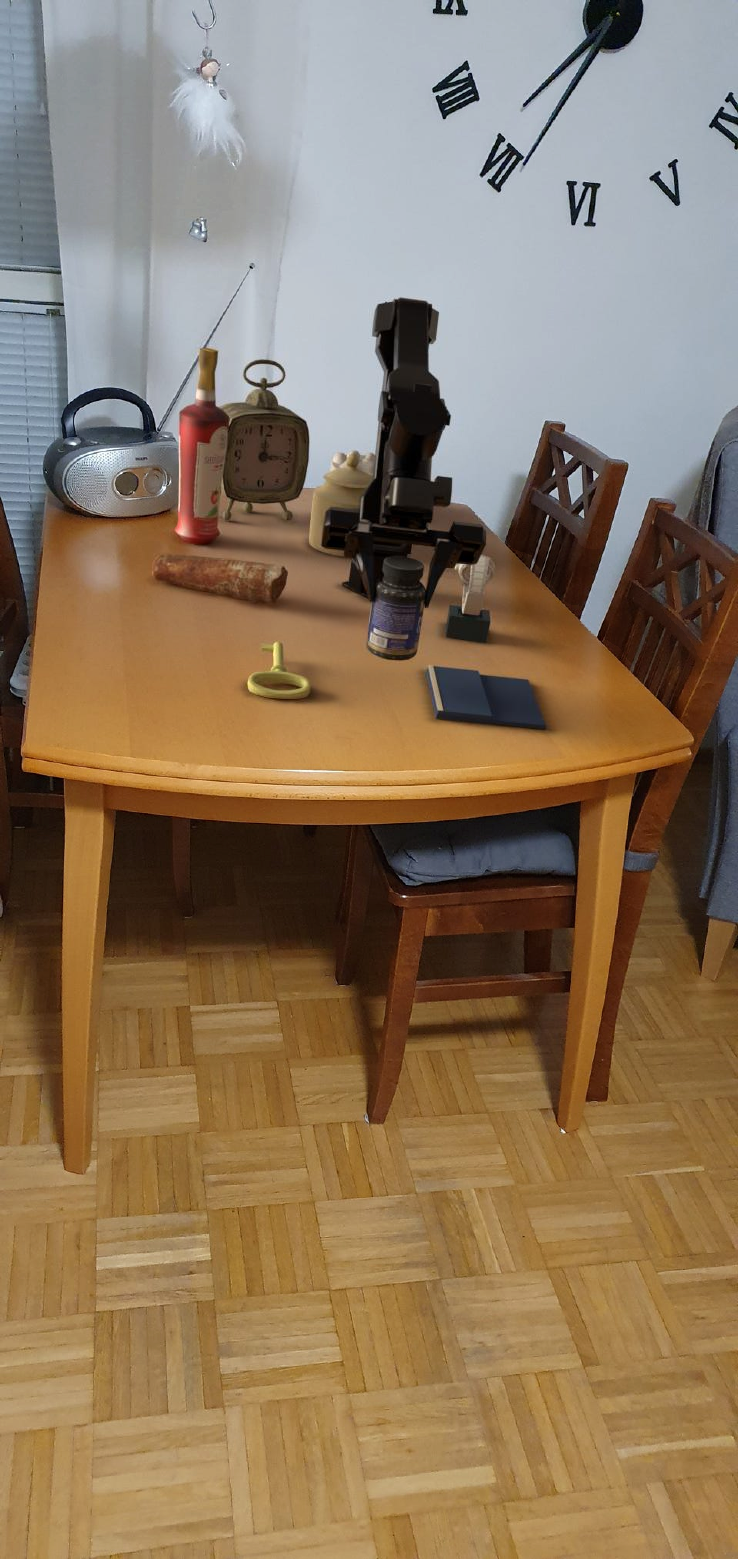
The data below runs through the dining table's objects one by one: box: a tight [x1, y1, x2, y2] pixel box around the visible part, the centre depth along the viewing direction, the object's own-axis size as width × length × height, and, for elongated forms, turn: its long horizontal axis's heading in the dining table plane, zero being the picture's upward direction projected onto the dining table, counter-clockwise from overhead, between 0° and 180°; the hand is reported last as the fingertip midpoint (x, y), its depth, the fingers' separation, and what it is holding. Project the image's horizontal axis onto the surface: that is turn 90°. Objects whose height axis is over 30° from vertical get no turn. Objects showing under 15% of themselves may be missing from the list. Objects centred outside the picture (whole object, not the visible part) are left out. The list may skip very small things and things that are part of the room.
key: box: [247, 641, 311, 700], centre depth 141 cm, size 7×12×2 cm, turn 23°
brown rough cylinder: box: [151, 553, 289, 605], centre depth 164 cm, size 6×19×6 cm, turn 75°
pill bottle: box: [365, 556, 426, 662], centre depth 138 cm, size 6×6×11 cm
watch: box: [445, 554, 496, 644], centre depth 160 cm, size 6×8×11 cm
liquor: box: [174, 347, 230, 545], centre depth 177 cm, size 7×7×28 cm
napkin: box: [425, 664, 547, 730], centre depth 144 cm, size 13×13×1 cm
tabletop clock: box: [218, 359, 310, 522], centre depth 192 cm, size 14×9×25 cm, turn 114°
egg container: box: [329, 449, 375, 478], centre depth 209 cm, size 10×13×9 cm
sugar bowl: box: [308, 452, 372, 558], centre depth 186 cm, size 15×11×15 cm
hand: (399, 603), depth 137 cm, fingers closed on pill bottle, 6 cm apart
